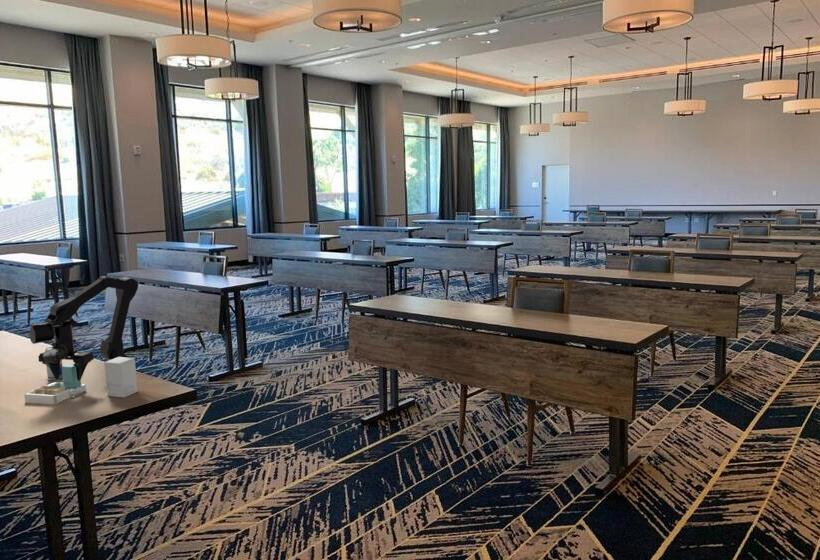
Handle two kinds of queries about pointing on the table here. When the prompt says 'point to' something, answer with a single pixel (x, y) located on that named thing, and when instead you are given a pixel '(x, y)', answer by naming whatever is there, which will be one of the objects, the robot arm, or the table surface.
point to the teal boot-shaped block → (68, 378)
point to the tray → (46, 397)
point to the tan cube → (42, 390)
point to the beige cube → (55, 390)
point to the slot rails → (75, 389)
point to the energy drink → (49, 372)
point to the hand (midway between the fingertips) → (68, 379)
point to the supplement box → (121, 377)
